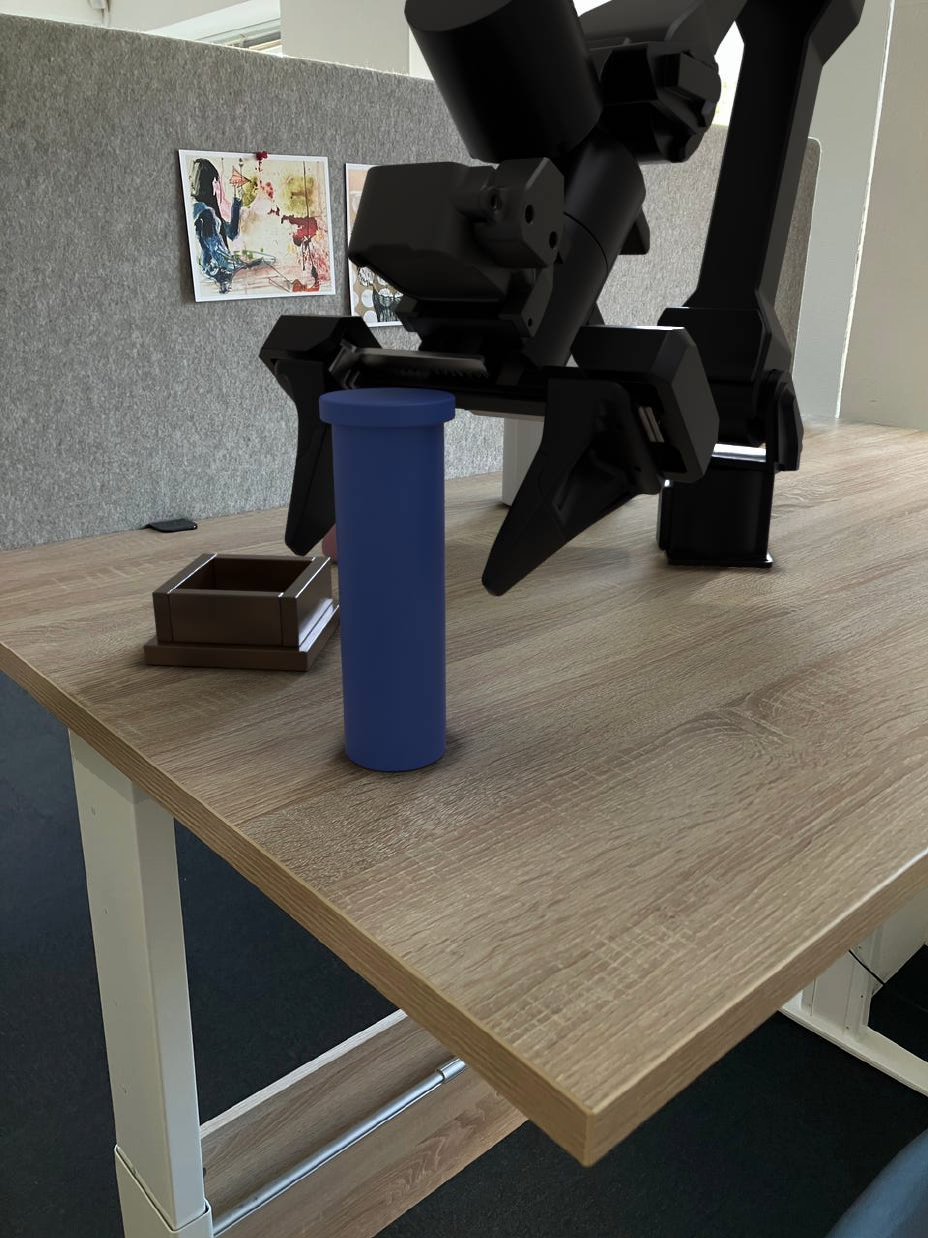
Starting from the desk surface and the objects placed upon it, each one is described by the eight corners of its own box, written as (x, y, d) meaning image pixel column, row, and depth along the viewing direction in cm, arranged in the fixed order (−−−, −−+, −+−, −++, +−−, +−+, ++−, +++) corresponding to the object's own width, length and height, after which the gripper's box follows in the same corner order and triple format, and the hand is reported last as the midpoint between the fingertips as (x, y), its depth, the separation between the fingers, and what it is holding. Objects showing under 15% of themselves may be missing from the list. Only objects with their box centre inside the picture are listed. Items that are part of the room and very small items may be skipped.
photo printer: (615, 493, 85) (622, 340, 81) (634, 504, 81) (643, 344, 77) (495, 499, 83) (497, 342, 79) (509, 511, 79) (512, 346, 75)
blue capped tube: (462, 725, 43) (462, 388, 38) (448, 780, 38) (446, 405, 34) (349, 720, 43) (336, 386, 39) (322, 773, 39) (303, 403, 34)
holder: (344, 616, 56) (342, 554, 55) (307, 671, 48) (303, 601, 47) (202, 611, 57) (197, 550, 55) (144, 664, 49) (137, 595, 48)
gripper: (277, 106, 42) (77, 410, 37) (717, 58, 32) (526, 465, 27) (399, 304, 50) (251, 571, 45) (774, 314, 40) (638, 658, 35)
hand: (385, 569), depth 38 cm, fingers open, 9 cm apart
